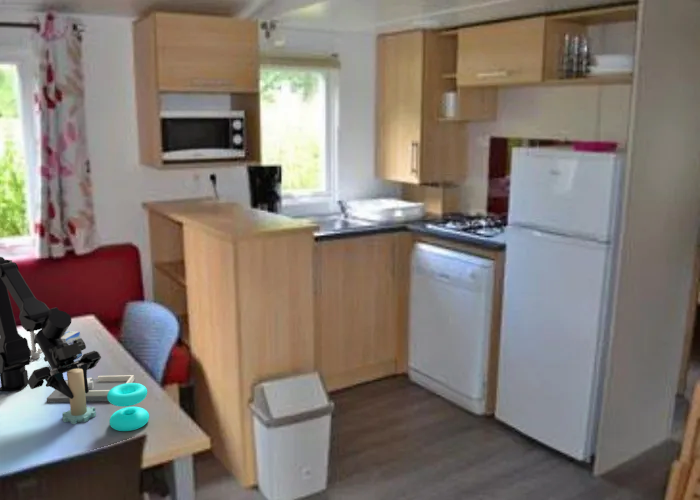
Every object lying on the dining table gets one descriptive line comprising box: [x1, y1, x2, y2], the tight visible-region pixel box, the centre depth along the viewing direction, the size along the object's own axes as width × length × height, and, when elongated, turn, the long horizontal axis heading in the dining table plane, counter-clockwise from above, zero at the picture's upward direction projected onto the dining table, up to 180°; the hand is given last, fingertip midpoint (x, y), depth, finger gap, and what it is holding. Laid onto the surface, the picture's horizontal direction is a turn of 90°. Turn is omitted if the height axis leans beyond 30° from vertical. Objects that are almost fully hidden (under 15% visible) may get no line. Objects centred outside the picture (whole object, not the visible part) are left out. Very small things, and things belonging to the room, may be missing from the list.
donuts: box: [107, 382, 150, 432], centre depth 173 cm, size 10×10×10 cm
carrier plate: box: [46, 374, 136, 403], centre depth 193 cm, size 21×13×4 cm, turn 92°
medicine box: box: [61, 330, 83, 361], centre depth 219 cm, size 8×4×9 cm, turn 168°
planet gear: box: [61, 369, 97, 425], centre depth 177 cm, size 8×8×13 cm
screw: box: [29, 331, 43, 360], centre depth 220 cm, size 13×5×5 cm
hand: (80, 395), depth 176 cm, fingers closed on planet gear, 4 cm apart
